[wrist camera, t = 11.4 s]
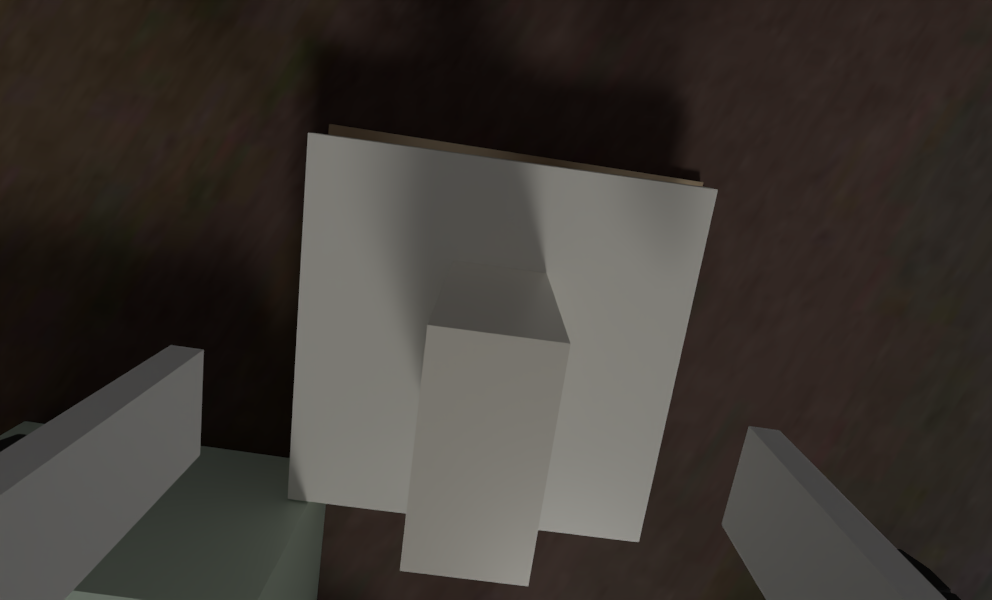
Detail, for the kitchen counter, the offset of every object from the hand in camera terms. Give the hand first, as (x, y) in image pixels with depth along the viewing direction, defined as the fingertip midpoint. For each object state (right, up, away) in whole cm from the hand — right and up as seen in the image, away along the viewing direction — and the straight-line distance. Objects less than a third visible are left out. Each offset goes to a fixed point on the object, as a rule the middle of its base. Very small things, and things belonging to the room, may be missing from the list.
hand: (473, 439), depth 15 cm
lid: (0, +2, +8) cm, 8 cm away
